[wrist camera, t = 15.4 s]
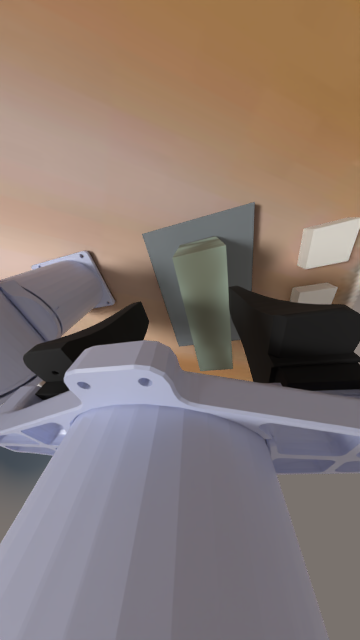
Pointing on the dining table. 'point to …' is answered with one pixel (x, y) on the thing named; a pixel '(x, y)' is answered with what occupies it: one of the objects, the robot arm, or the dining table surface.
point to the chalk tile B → (328, 243)
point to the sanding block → (206, 300)
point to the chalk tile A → (314, 294)
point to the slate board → (225, 225)
